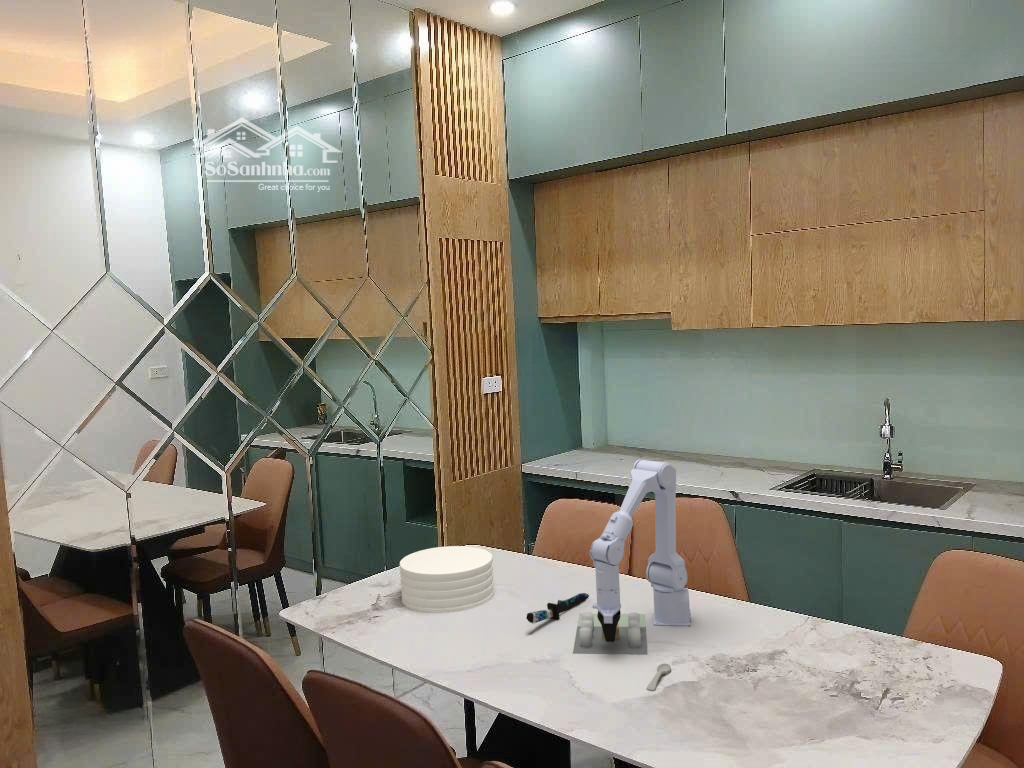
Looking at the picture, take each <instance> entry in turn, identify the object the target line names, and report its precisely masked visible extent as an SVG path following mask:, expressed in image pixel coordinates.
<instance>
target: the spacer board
mask: <svg viewBox="0 0 1024 768" xmlns="http://www.w3.org/2000/svg"><path fill="white" fill-rule="evenodd" d="M597 614H598V613H593V612H583V613H579V614H578V621H577V625H576V626H577V627H576V632H575V639H574V644H573V648H572V649H573V651H572V654H576V655H577V654H580V655H585V654H586V655H587V654H588V655H592V654H593V655H637V656H640V655H643V656H644V655H646V656H647V655H648V654H649V653H648V639H647V625H646V624H647V622H646V614H645V613H637V612H630V613H621V614H620V620H619V622H618V624H619V640H615V641H614V642H606V640H603V639H602V625H601V623H600V621H599V620H598V617H597Z"/></svg>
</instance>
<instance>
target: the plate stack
mask: <svg viewBox="0 0 1024 768" xmlns="http://www.w3.org/2000/svg"><path fill="white" fill-rule="evenodd" d="M399 569H400V570H399V573H400V574H399V576H400V586H401V587H400V591H401V602H402V604H403V605H404V606H405V607H407V608H408V609H411V610H414V611H416V612H417V611H418V612H421V613H422V612H423V613H431V614H432V613H433V614H434V613H435V614H437V613H439V614H440V613H443V612H444V614H445V612H446V613H454V612H456V613H457V612H461V611H466V610H470V609H473V608H474V609H475V608H477V607H479V606H483V605H485V604H487V603H488V602H490V600H492V598H493V597H494V596H495V587H494V585H495V584H494V581H495V580H494V565H493V554H492V553H491V552H490V551H488V550H486V549H484V548H479V547H475V546H465V545H464V546H463V545H453V546H452V545H450V546H448V545H447V546H439V547H438V546H437V547H430V548H426V549H422V550H418V551H415V552H413V553H410V554H408V555H405V556H404V557H403V558H402V559H401V560H400V561H399Z"/></svg>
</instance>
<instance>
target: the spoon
mask: <svg viewBox="0 0 1024 768" xmlns="http://www.w3.org/2000/svg"><path fill="white" fill-rule="evenodd" d="M656 670H657V672H656V674H654V676H653V677H652V679H651V680H650V682H649V684H648V685H647V686H646V690H647V691H651V692H655V691H656V689H657V686H658V682H659V680H660V678H661V676H662V675H663V676H664V675H665V676H666V675H668V674H670V672H671V670H672V668H671V665H670V664H668V663H661V664H659V665H658V666H657V668H656Z"/></svg>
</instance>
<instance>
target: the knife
mask: <svg viewBox="0 0 1024 768" xmlns="http://www.w3.org/2000/svg"><path fill="white" fill-rule="evenodd" d="M589 597H590V594H589V593H586V592H582V593H581V592H580V593H578V594H576V595H573V596H572V597H569V598H567V599H563V600H560V599H557V603H551V602H547V604H546V608H547V609H541V610H535V611H532V612H530V611H529V612H528V613H526V620H527V621H528V623H530V624H537V623H541V622H543V621H545V620H547V619H548V620H549V619H553V620H557V621H558V620H560V614H561V613H564V612H566V611H569V610H572V609H574V608H575V607H577V606H579V605H581V604H582V603H584V602H585V601H587V600H588V598H589Z"/></svg>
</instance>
